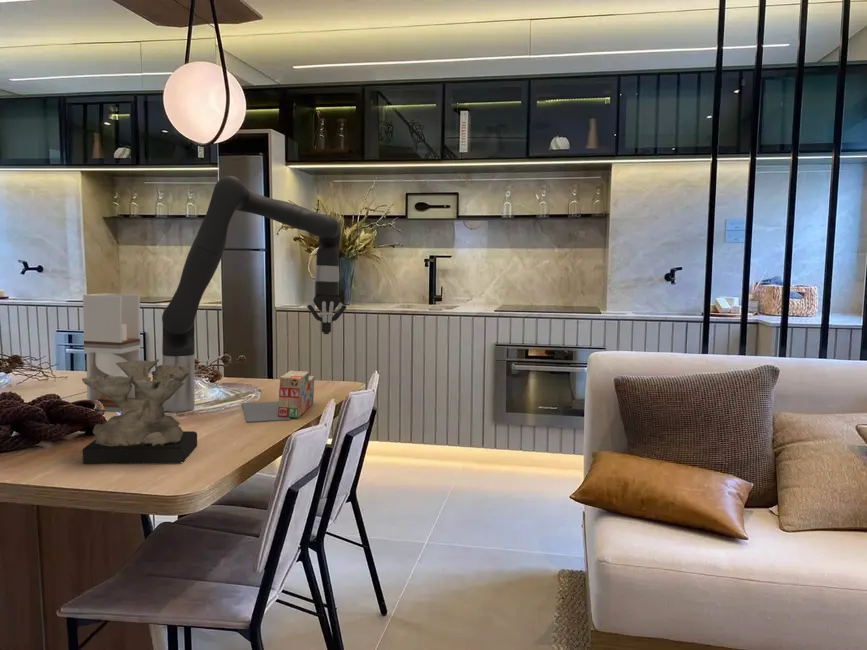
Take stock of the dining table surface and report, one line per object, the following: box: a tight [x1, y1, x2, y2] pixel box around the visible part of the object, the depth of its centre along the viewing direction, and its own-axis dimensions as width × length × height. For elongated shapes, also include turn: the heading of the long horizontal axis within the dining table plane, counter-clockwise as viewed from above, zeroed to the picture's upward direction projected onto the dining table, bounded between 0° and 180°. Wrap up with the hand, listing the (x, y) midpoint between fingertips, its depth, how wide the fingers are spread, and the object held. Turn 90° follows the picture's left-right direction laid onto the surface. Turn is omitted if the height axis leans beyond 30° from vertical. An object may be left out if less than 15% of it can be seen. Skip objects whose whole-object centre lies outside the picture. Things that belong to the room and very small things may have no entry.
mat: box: [241, 400, 291, 424], centre depth 186 cm, size 12×24×1 cm, turn 21°
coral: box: [81, 358, 198, 465], centre depth 143 cm, size 25×20×22 cm
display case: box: [82, 293, 141, 412], centre depth 184 cm, size 11×11×35 cm
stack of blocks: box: [278, 370, 315, 419], centre depth 189 cm, size 21×6×12 cm, turn 179°
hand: (326, 333), depth 191 cm, fingers closed
